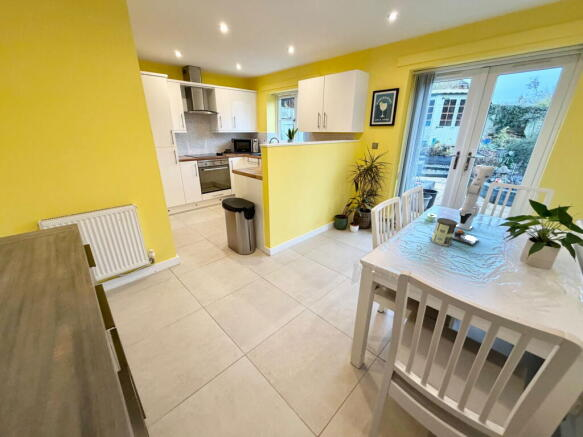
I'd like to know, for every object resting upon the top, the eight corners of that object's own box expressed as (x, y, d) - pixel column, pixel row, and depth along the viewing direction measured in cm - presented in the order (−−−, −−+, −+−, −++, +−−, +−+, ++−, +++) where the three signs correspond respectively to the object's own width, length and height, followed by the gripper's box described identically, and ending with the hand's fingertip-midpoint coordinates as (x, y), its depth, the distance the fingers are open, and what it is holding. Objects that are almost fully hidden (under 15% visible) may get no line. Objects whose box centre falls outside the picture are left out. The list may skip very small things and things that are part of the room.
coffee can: (447, 239, 145) (454, 219, 139) (452, 247, 136) (459, 225, 130) (429, 236, 148) (435, 216, 143) (433, 243, 139) (439, 222, 134)
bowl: (428, 218, 178) (429, 213, 176) (435, 220, 174) (437, 215, 172) (425, 220, 175) (426, 214, 173) (432, 222, 171) (434, 217, 169)
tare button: (458, 231, 151) (459, 229, 150) (462, 232, 149) (463, 230, 148) (457, 232, 149) (457, 229, 149) (461, 233, 148) (462, 231, 147)
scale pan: (462, 234, 146) (462, 233, 146) (476, 238, 141) (477, 237, 140) (458, 237, 142) (458, 236, 142) (473, 241, 136) (473, 241, 136)
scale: (455, 233, 154) (456, 229, 152) (478, 240, 144) (479, 236, 143) (448, 238, 146) (449, 234, 145) (471, 246, 137) (473, 242, 136)
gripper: (465, 200, 149) (459, 219, 154) (457, 204, 140) (451, 224, 146) (478, 202, 144) (471, 222, 149) (471, 207, 135) (464, 227, 141)
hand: (462, 223), depth 147 cm, fingers closed
